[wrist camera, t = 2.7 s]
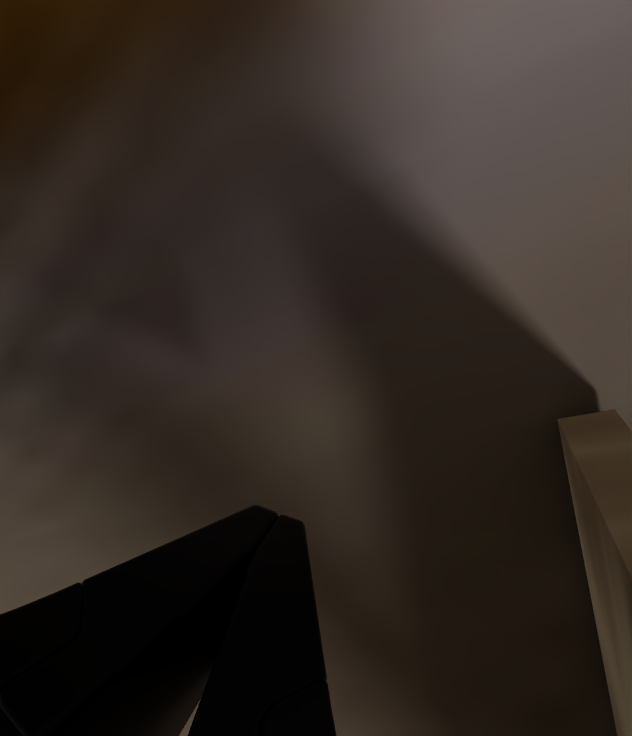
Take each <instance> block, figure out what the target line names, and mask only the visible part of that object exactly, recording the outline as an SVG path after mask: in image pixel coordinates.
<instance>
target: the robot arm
mask: <svg viewBox="0 0 632 736" xmlns="http://www.w3.org/2000/svg"><path fill="white" fill-rule="evenodd" d="M326 679H327V677H326V670H325V663H324V656H323V649H322V642H321V636H320V629H319V622H318V615H317V608H316V601H315V594H314V587H313V580H312V573H311V567H310V560H309V553H308V546H307V539H306V532H305V526H304V523H303V522H302V521H300V520H297V519H294V518H291V517H288V516H286V515H280V516H278V514H277V513H276V512H274V511H272V510H269V509H266V508H263V507H261V506H258V505H254V506H251V507H249V508H246V509H244V510H242V511H240V512H237V513H235V514H233V515H231V516H228V517H226V518H224V519H222V520H219V521H217V522H215V523H212V524H210V525H208V526H206V527H203V528H201V529H199V530H197V531H194V532H192V533H190V534H187V535H185V536H183V537H181V538H178V539H176V540H174V541H172V542H169V543H167V544H165V545H163V546H160V547H158V548H156V549H153V550H151V551H149V552H147V553H144V554H142V555H140V556H138V557H135V558H133V559H131V560H129V561H126V562H124V563H122V564H119V565H117V566H115V567H113V568H110V569H108V570H106V571H104V572H101V573H99V574H97V575H94V576H92V577H90V578H88V579H85V580H84V581H83V582H82V584H81V583H76V584H74V585H71V586H69V587H67V588H64V589H62V590H60V591H58V592H55V593H53V594H51V595H48V596H46V597H43V598H41V599H38V600H36V601H34V602H31V603H29V604H26V605H24V606H21V607H19V608H17V609H14V610H11V611H8V612H6V613H3V614H0V736H179V735H180V733H181V731H182V729H183V728H184V726H185V724H186V723H187V721H188V719H189V718H190V716H191V714H192V713H193V711H194V709H195V707H196V706H197V704H198V702H199V701H200V703H199V706H198V708H197V711H196V714H195V717H194V720H193V722H192V725H191V728H190V731H189V734H188V736H336V731H335V725H334V720H333V714H332V709H331V702H330V696H329V689H328V684H327V682H326ZM200 699H201V700H200Z"/></svg>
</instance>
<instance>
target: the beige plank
mask: <svg viewBox="0 0 632 736" xmlns="http://www.w3.org/2000/svg"><path fill="white" fill-rule="evenodd" d="M557 421H558V426H559V432H560V437H561V442H562V447H563V453H564V458H565V463H566V468H567V474H568V479H569V484H570V490H571V495H572V500H573V505H574V511H575V516H576V521H577V526H578V532H579V537H580V542H581V548H582V553H583V558H584V563H585V569H586V574H587V579H588V584H589V590H590V595H591V600H592V606H593V611H594V616H595V621H596V627H597V632H598V637H599V642H600V648H601V653H602V658H603V664H604V669H605V674H606V679H607V685H608V690H609V695H610V700H611V706H612V711H613V716H614V721H615V727H616V732H617V736H632V431H631V430H630V429H629V427H628V426H627V425H626V423H625V422H624V421H623V420H622V418H621V417H620V416H619V414H618V413H617V412H616V410H615V409H614V410H608V411H602V412H596V413H590V414H584V415H578V416H571V417H565V418H559V419H557Z"/></svg>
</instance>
